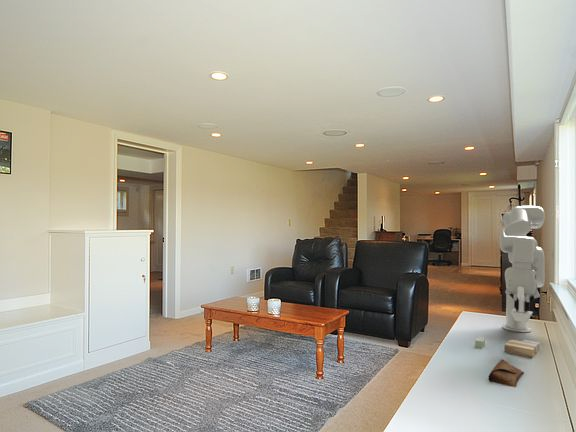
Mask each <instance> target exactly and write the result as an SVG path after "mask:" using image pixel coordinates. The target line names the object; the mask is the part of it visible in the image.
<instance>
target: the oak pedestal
mask: <svg viewBox="0 0 576 432" xmlns="http://www.w3.org/2000/svg"><path fill="white" fill-rule="evenodd" d="M538 351H539V350H538V344H534V343H528V342H523V340H517V339H510V340H508V341H507V342H506V343H505V344H504V353H509V354H512V355H518V356H523V357H527V358H532V359H533V358H534V357H535V356H536V355H537V353H538Z"/></svg>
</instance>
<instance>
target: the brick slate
mask: <svg viewBox="0 0 576 432" xmlns="http://www.w3.org/2000/svg"><path fill="white" fill-rule="evenodd" d="M522 341H523V342H528V343H534V344H538V351H540V350H541V343H540V342H538V341H532V340H528V339H523V340H522Z"/></svg>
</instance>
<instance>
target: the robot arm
mask: <svg viewBox="0 0 576 432" xmlns="http://www.w3.org/2000/svg"><path fill="white" fill-rule="evenodd" d="M545 219H546V213H545V210H544V208H542V207H541V206H536V205H535V206H534V205H521V206H520V205H519V206H515V207H513V208H511V209H510V211H507V212H505V213H503V215H502V223H503V224H502V225H503V226H504V227H503V228H502V229H501V230H500V232H499V249H500V250H501V251H502V253H507V256H508V261H509V262H510V263H511V265H512V266H509V267H508V268H506V269H505V271H504V281H505V288H506V289H505V291H504V293H505V294H506V297H505V298H506V299H505V301H506V302H505V303H506V304H505V305H506V306H505V307H506V308H505V312H506V313H505V323H504V324H502V329H504V330H507V331H511V332H517V333H528V332H531V331H532V328H531V327H529V326H528V322H522V321H516V320H514V318H513V316H512V314H511V311H512V310H513V309H516V310H518V297H517V289H518V287H523V288H524V294H526V302H525V312H527V311H531V310H530V309H531V307H530V306H531V301H533V300H534V299H537V298H540V297H541V295H540V293H539V291H538V288H542V287H544V286H545V281H546V270H545V269H546V264H545V263H546V261H545V252H544V249H543V248H542V247H540V246H538V241H537V240H536V238H534V237H532V236H527V234H528V233H530V231H531V230H532V229H533V230H534V229H536V230H537V229H540V228H542V227H543V224H544V223H545Z"/></svg>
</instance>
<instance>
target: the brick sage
mask: <svg viewBox="0 0 576 432" xmlns="http://www.w3.org/2000/svg"><path fill="white" fill-rule="evenodd" d="M474 345H475V346H474V348H477V349H478V348H480V349H483V348H484V347H485V346H486V338H483V337H476V339H475V341H474Z"/></svg>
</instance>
